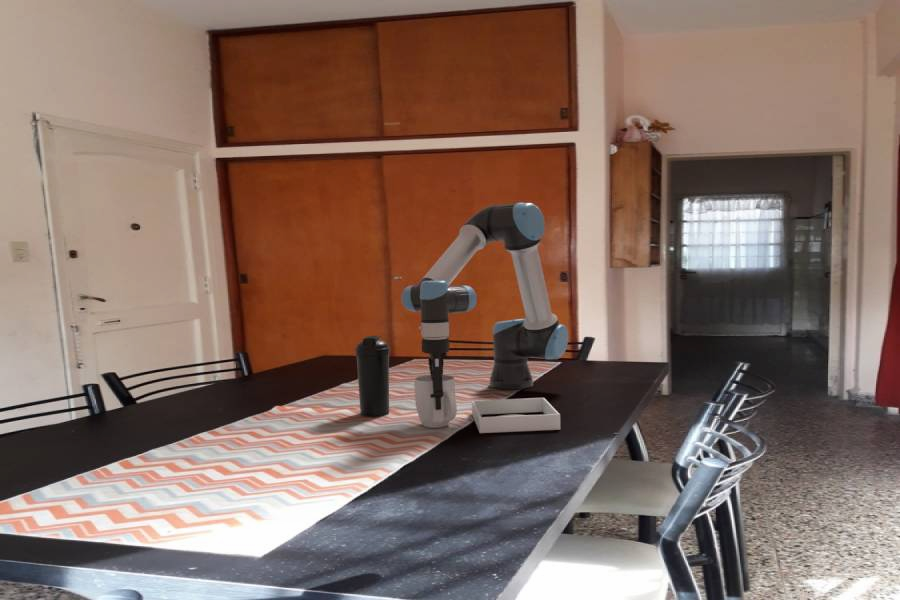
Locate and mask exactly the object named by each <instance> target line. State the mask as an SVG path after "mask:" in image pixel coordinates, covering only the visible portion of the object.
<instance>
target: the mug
mask: <svg viewBox="0 0 900 600" xmlns="http://www.w3.org/2000/svg"><path fill="white" fill-rule="evenodd" d="M442 384H443V394H444V395H443V414H444V422H433V398H430V394H433V380H431V375H430V374H425V375H420V376H417V377H415V378H414V399H415V401H414V402H415V406H416V407H415V408H416V412H417V415H418V419H419V420H420V422H421V424H422V425H423V427H425V428H429V429H439V428H445V427H447V426H448V425H449V424H450V422H452V421H453V420H455V418H456V416H457V410H458V409H457V401H456V384H455V376H452V375H449V374H448V375H447V374H443V375H442Z"/></svg>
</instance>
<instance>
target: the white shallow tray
mask: <svg viewBox="0 0 900 600" xmlns="http://www.w3.org/2000/svg"><path fill="white" fill-rule="evenodd" d="M518 413H519V414H518ZM523 413H524V414H523ZM527 413H543V414H527ZM500 414H503V415H500ZM526 414H527V415H526ZM471 415H472V418H473V421H474V423H475V424H476V428H477V431H478V432H479V434H487V433H488V434H491V433H510V432H511V433H513V432H533V431H534V432H536V431H555V430H557V431H558V430H560V431H561V413H559V412H558V410H556V408H554V406H552V404H551V403H550V402H549V401H548V400H547V399H546V398H545V397H532V398H531V397H529V398H507V399H502V398H501V399H484V400H483V399H481V400H471ZM481 415H497V416H481Z"/></svg>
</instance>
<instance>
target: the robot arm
mask: <svg viewBox="0 0 900 600" xmlns="http://www.w3.org/2000/svg"><path fill="white" fill-rule="evenodd" d="M545 227H546V222H545V217H544V214H543V213H542V210H541V209H540V208H539V207H538V206H537V205H535V204H534V203H532V202H516V203H514V202H513V203H506V204H505V203H504V204H494V205H489V206H486V207H484V208H482V209H480V210H479V211H477V212H475V214H473V215H472V216H470V218H469V219H468V220H466V222H465V223H464V224H463V225H462V226H461V227H460V229H459V232H458V233H459V234H458V236H457V237H455V239H454V241H453V242H451V244H450V245H449V246H448V247H447V249H446V250H445V251H444V252H443V253H442V255H441V256H440V257H439V258H438V260H437V261H435V263H434V264H433V266H432V267H431V268H430V269H429V270H428V271H427V272H426V274H424V276H423V277H422V279H421V280H420V281H419V282H418V283H417V285H414V284H413V285H407V287H405V288H404V289H403V290H402V293H401V303H402V306H403V307H404V309H406V310H407V311H410V312H416V313H420V322H421V325H419V326H418V330H421V337H422V339H421V340H420V341H421V353H424V354H427V355H428V354H429V356H430V358H428V367H429V372H430V373H429V375H431V380H433V394H430V398H433V422H444V414H443V395H444V394H443V384H442V375H444V358H442V357H441V354H446V353H448V352H450V339H449V337H450V322H449V320H450V319H449V318H450V317H449V315H450V314H459V313H461V314H462V313H463V314H464V313H466V312H469V311H472V310H473V309H474V308H475V307H476V304H477V299H478V298H477V294H476V291H475V290H474V289H473V287H471V286H469V285H464V284H463V285H462V284H461V285H460V284H459V285H451V284H452V283H453V281H455V279H456V278H457V276H458V275H459V274H460V273H461V271H462V270H463V269H464V267H466V265H467V264H468V263H469V261H470V260H471V259H472V257H473V256H475V254H476V253H477V251H479V250H483V249H484V248H485V246H486V245H487V244H489V243H493V242H503V245H504V249H505V251H507V252H508V253H510V254H511V259H512V263H513V266H514V267H513V268H514V271H515V276H516V280H517V284H518V290H519V293H520V296H521V301H522V307H523V309H524V315H525V318H517V319H510V320H502V321H497V322H495V323H494V324H493V332H492V337H493V338H492V339H493V367H492V370H491V374H490V377H489V387H490V388H493V389H498V390H521V389H522V390H524V389H527V388H531V387H533V386H534V380H533V375H532V373H531V371H530V370H531V369H530V367H529V364H528V358H532V359H533V358H534V359H545V360H558V359H560V358H561V357H563V356H564V354H565V353H566V349H567V347H568V344H569V330H568V328H567V326H566V325H565V324H562V323H561V324H560V323H559V318H558V316H557V315H556V314H555V313H552V309H551V308H552V307H551V304H550V299H549V295H548V290H547V285H546V281H545V277H544V276H545V275H544V271H543V267H542V263H541V257H540V253H539V250H538V247H539V245H540V244H541V241H542V240H541V239H542V238H543V236H544V234H545V230H546V228H545Z"/></svg>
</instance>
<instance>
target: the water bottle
mask: <svg viewBox="0 0 900 600" xmlns="http://www.w3.org/2000/svg"><path fill="white" fill-rule="evenodd" d="M381 337H382V335H366V336H365V337H363V338H362V340H361V341H360V342H359V343H358V344H356V347H355V348H354V349H355V350H354V354H355V357H356V366H357V379H358V382H357V383H358V393H359V394H358V395H359V396H358V397H359V409H360V410H359V412H360V415H361V416H362V417H366V418H374V417H375V418H376V417H377V418H378V417H384V416H386V415H389V414H390V354H391V353H390V352H391V348H390V347H391V346H389V344H388V343H387V342H386V341H385V340H382V339H380V338H381Z"/></svg>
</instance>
